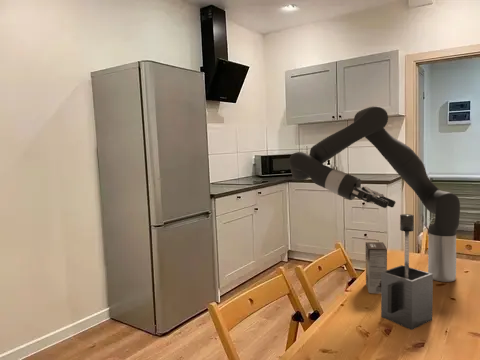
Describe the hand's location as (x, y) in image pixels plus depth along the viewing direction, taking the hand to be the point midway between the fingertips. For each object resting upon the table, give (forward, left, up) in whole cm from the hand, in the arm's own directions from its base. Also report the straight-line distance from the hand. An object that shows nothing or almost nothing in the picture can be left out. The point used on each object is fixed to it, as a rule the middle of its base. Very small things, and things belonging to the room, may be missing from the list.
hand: (391, 204), depth 113 cm
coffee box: (-12, -15, -34) cm, 39 cm away
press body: (+2, +5, -34) cm, 34 cm away
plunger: (0, +5, -24) cm, 24 cm away
